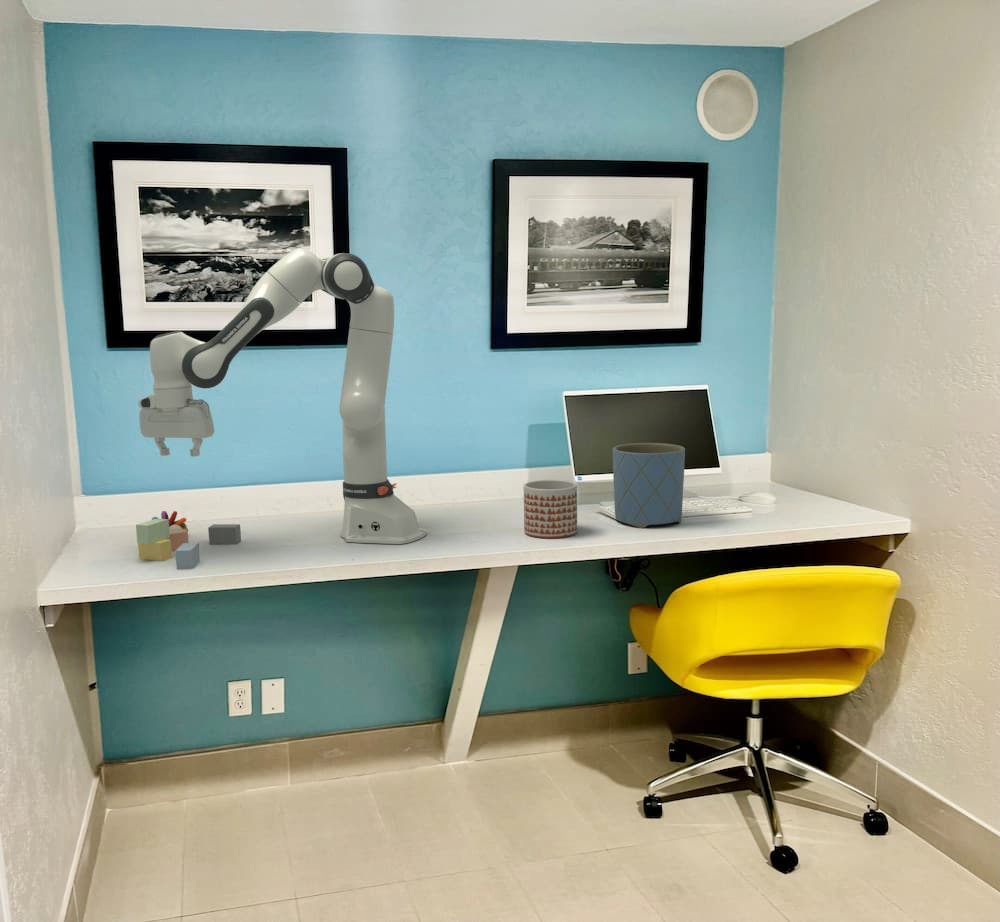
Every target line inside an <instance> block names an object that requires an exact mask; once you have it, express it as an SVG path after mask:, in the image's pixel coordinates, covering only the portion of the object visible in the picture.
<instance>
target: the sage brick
mask: <svg viewBox="0 0 1000 922" xmlns="http://www.w3.org/2000/svg"><path fill="white" fill-rule="evenodd" d="M158 518H159V517H157V519H153V520H152V519H150V520H147V521H144V522H141V523H140V522H139V523H137V524H135V529H136V542H137V543H136V544H138V543H141V544H151V543H155V542H158V541H161V540H164V539H167V538H170V533H169V520H168V519H162V518H159V519H158Z"/></svg>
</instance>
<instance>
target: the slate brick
mask: <svg viewBox="0 0 1000 922" xmlns="http://www.w3.org/2000/svg"><path fill="white" fill-rule="evenodd" d="M199 547H200V546H199V542H188V543H183V544H182V545H181V546H180V547H179V548H178V549H177V550H176V551H174V552H175V564H176V565H175V566H176V570H189V569H190V570H193V569H194V568H195V567H196V565H197V564H198V563H199V562H200V561H201V560H200V558H201V557H200V548H199ZM192 568H193V569H192Z"/></svg>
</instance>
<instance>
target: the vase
mask: <svg viewBox="0 0 1000 922" xmlns="http://www.w3.org/2000/svg"><path fill="white" fill-rule="evenodd" d="M523 525H524V526H523V528H524V531H523V532H524V533H525V535H527V536H529V537H531V538H532V537H533V538H537V539H546V540H547V539H553V540H554V539H563V538H568V537H571V536H574V535H576V534H577V533H578V484H577V483H576V482H573V481H570V480H565V479H539V480H537V479H536V480H532V481H528V482H526V483H524V484H523Z"/></svg>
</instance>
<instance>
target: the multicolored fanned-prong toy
mask: <svg viewBox="0 0 1000 922" xmlns="http://www.w3.org/2000/svg"><path fill="white" fill-rule="evenodd" d="M177 515H178V511H176V510H174V511H173V512H172V513H171V515H170V517H169V514H168V512H167V511H166V510H162V511H161V514H160V516H161V518H159V517H157V516H153V517H151V520H153V519H157V518H158V519H168V520H169V531H173V530H181V529H185V530H186V531H187V532H189V529H188V527H187V524H186V522H187V518H186V517H181V518H180V519H177V517H178V516H177ZM176 519H177V520H176Z"/></svg>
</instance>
